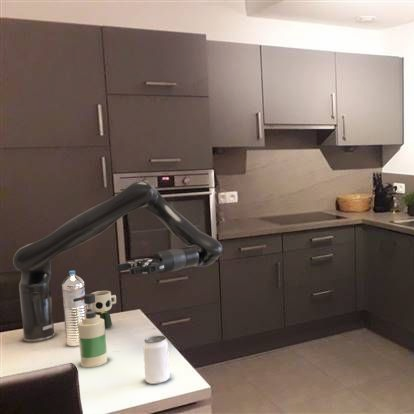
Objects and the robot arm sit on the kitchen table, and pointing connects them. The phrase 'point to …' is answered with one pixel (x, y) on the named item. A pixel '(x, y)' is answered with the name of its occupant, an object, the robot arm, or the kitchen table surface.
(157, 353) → the can
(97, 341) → the dispenser
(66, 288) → the water bottle
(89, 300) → the pump head
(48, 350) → the kitchen table surface
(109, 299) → the character mug
